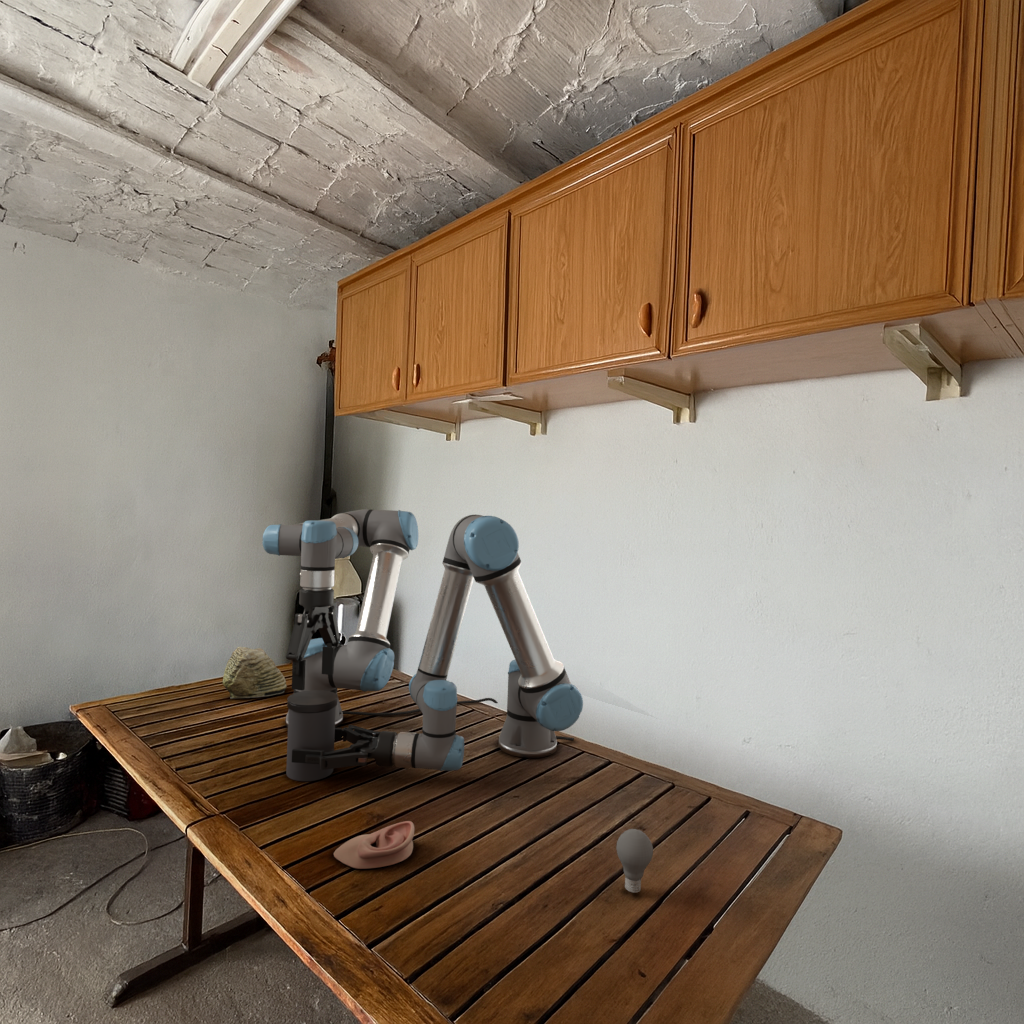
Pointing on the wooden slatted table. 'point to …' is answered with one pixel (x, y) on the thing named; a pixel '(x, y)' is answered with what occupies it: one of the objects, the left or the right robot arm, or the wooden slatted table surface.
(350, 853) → the anatomical model
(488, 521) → the right robot arm
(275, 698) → the wooden slatted table surface
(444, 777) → the wooden slatted table surface
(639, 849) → the light bulb
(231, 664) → the fossil
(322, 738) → the jar
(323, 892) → the wooden slatted table surface
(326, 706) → the lid
